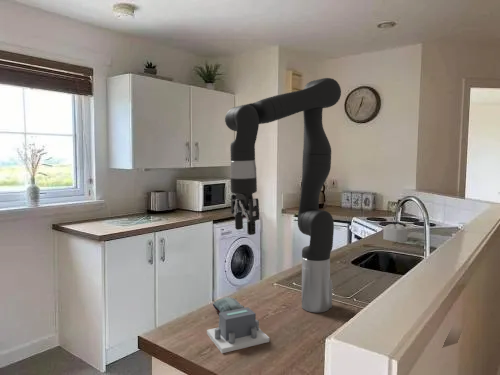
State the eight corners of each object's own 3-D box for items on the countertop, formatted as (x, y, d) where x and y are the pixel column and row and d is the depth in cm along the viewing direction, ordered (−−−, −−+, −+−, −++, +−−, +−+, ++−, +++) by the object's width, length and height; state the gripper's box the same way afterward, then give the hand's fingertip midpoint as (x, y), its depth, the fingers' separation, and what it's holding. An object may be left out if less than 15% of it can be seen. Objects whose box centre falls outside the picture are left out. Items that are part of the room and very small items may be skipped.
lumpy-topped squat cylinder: (388, 236, 236) (388, 222, 235) (410, 239, 228) (410, 224, 227) (381, 239, 228) (381, 224, 228) (403, 242, 220) (404, 227, 219)
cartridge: (248, 326, 113) (248, 306, 112) (255, 334, 109) (255, 312, 108) (219, 333, 109) (219, 312, 109) (225, 340, 105) (225, 319, 104)
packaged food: (236, 306, 132) (236, 292, 131) (249, 320, 121) (249, 304, 120) (212, 310, 128) (211, 296, 128) (223, 325, 117) (222, 309, 117)
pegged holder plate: (250, 324, 117) (250, 312, 117) (269, 341, 106) (269, 328, 106) (207, 333, 111) (206, 321, 111) (221, 353, 101) (221, 339, 100)
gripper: (266, 177, 106) (268, 234, 108) (244, 174, 119) (246, 226, 121) (241, 178, 103) (243, 238, 105) (222, 175, 116) (224, 228, 117)
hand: (245, 231), depth 113 cm, fingers open, 8 cm apart
